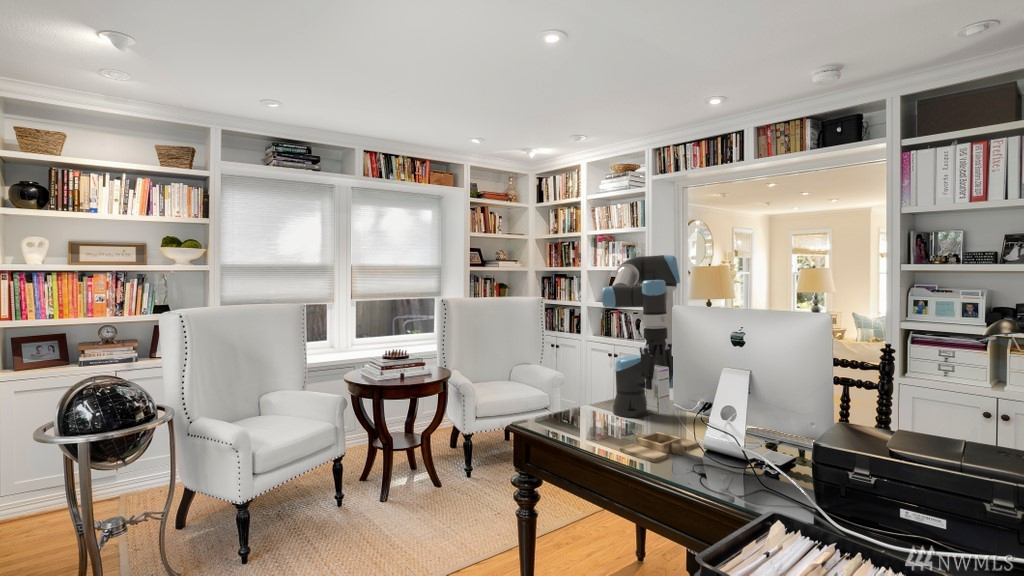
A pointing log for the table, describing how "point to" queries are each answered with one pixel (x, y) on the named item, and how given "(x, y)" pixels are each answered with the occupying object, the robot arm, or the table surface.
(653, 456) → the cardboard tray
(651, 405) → the syrup box
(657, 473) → the table surface
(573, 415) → the table surface
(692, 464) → the table surface
